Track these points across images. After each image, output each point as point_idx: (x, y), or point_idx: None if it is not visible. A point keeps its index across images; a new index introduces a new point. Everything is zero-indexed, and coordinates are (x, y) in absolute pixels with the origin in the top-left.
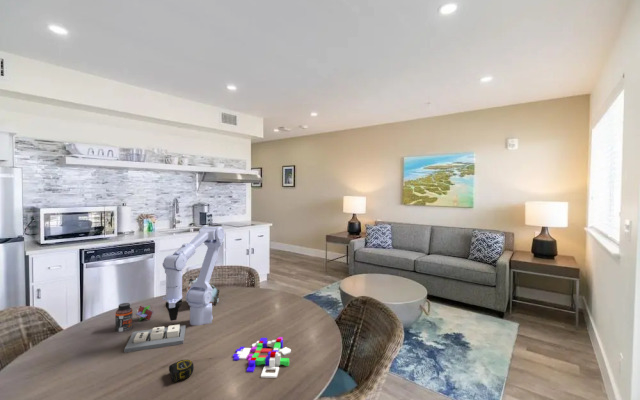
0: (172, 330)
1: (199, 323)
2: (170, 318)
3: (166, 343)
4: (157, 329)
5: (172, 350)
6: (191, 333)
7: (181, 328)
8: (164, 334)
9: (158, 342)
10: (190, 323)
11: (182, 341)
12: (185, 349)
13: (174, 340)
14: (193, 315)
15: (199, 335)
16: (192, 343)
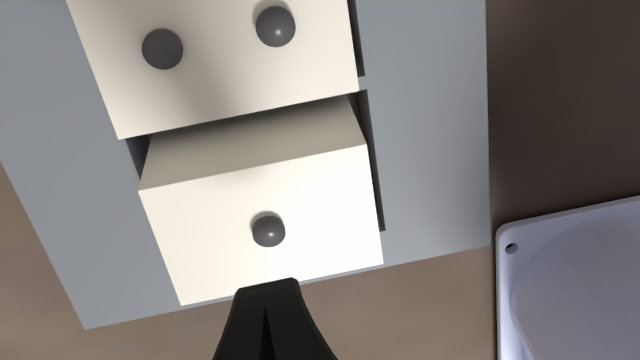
0: (197, 239)
1: (522, 335)
2: (230, 318)
3: (18, 183)
4: (254, 20)
5: (22, 212)
6: (391, 271)
7: (404, 229)
8: (354, 42)
9: (16, 91)
10: (571, 248)
11: (83, 316)
12: (50, 311)
13: (79, 252)
14: (585, 357)
15: (331, 343)
16: (170, 332)
